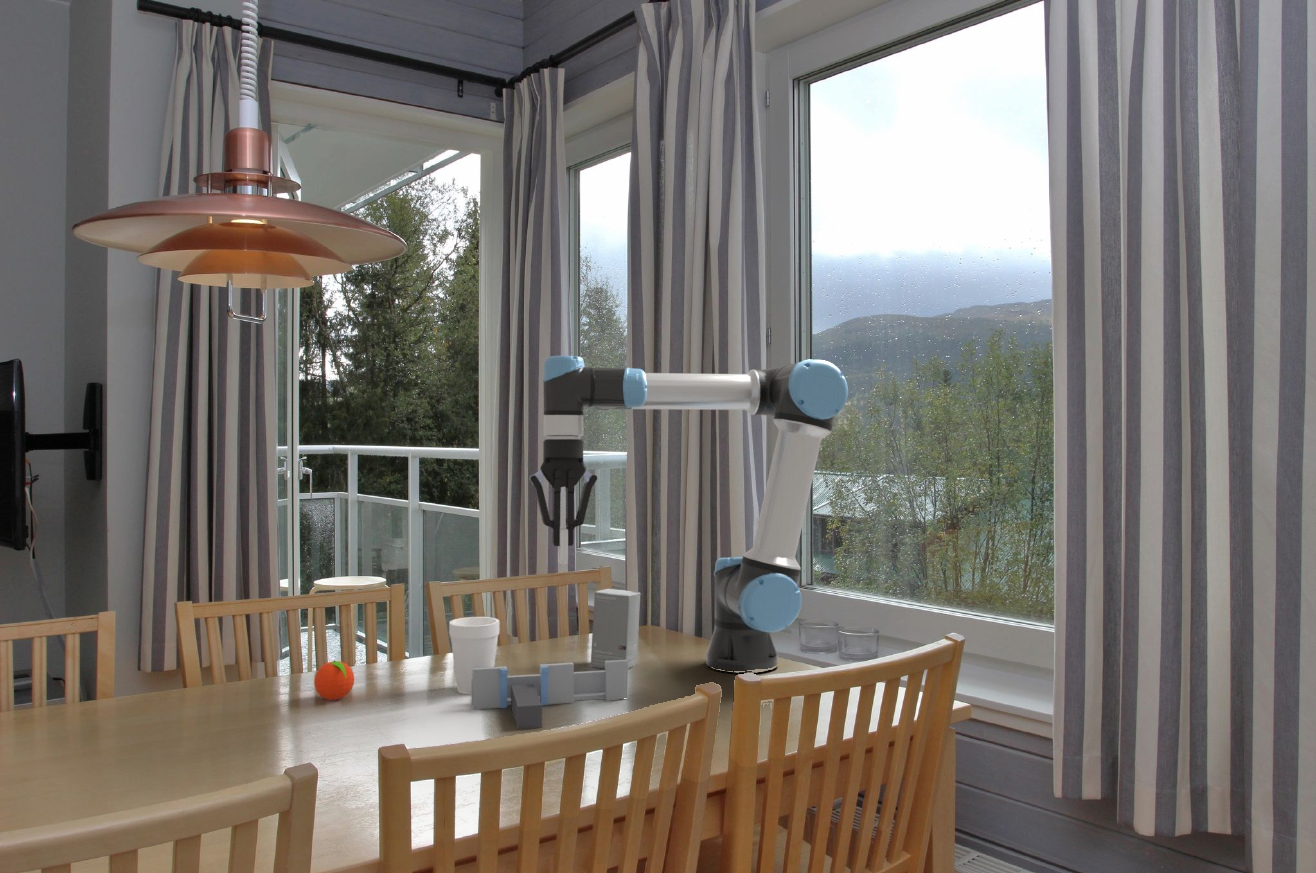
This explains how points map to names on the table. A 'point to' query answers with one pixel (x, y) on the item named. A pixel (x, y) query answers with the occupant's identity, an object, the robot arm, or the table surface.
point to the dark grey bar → (526, 706)
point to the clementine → (334, 680)
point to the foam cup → (472, 647)
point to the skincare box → (615, 627)
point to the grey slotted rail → (550, 684)
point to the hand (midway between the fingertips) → (562, 563)
